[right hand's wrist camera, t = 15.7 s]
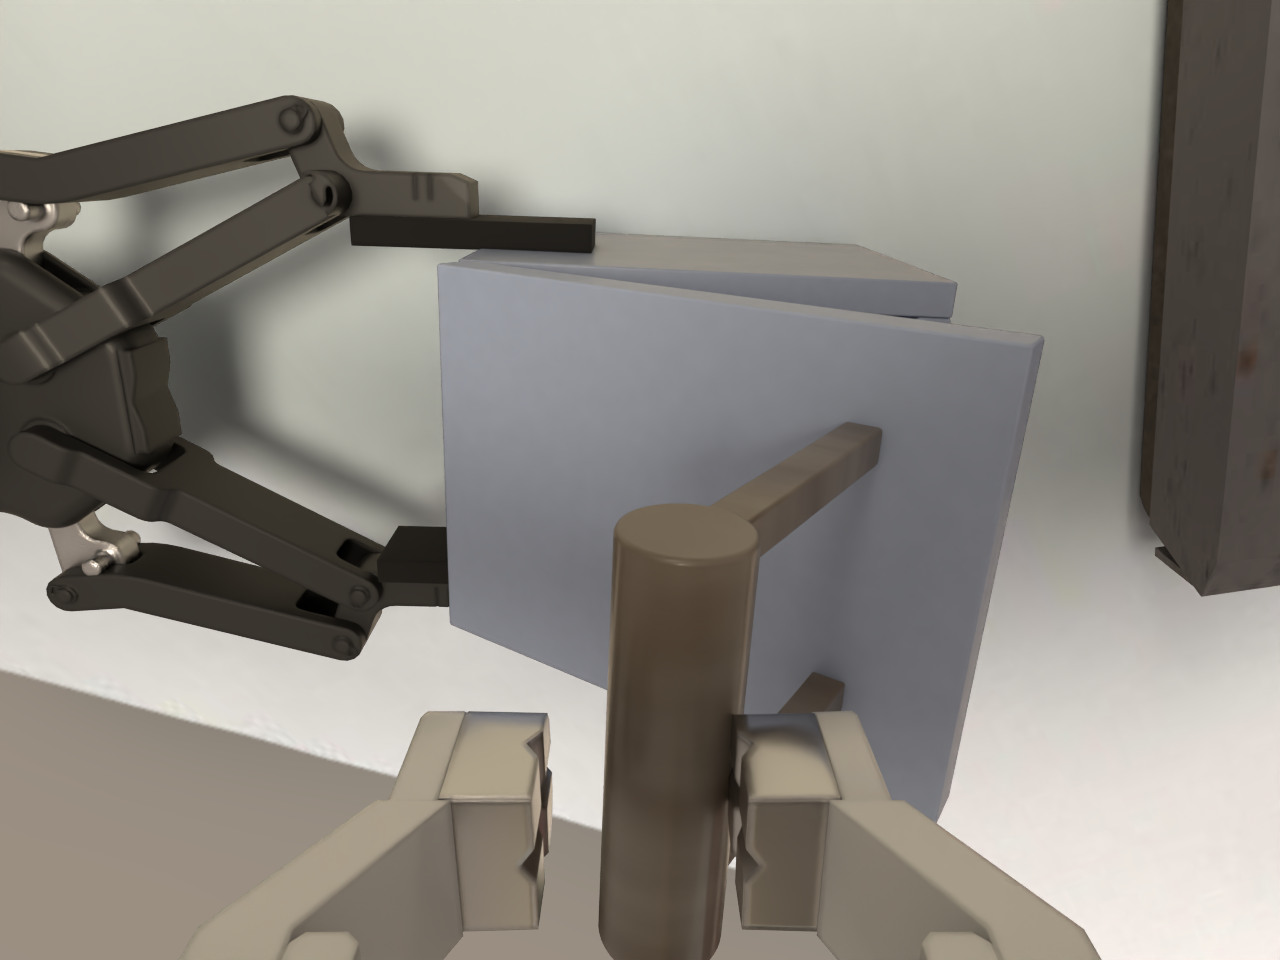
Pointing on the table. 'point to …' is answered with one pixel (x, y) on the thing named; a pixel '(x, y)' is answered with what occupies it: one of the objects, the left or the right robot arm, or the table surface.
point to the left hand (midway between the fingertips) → (591, 407)
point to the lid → (724, 538)
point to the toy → (1217, 300)
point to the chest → (753, 271)
